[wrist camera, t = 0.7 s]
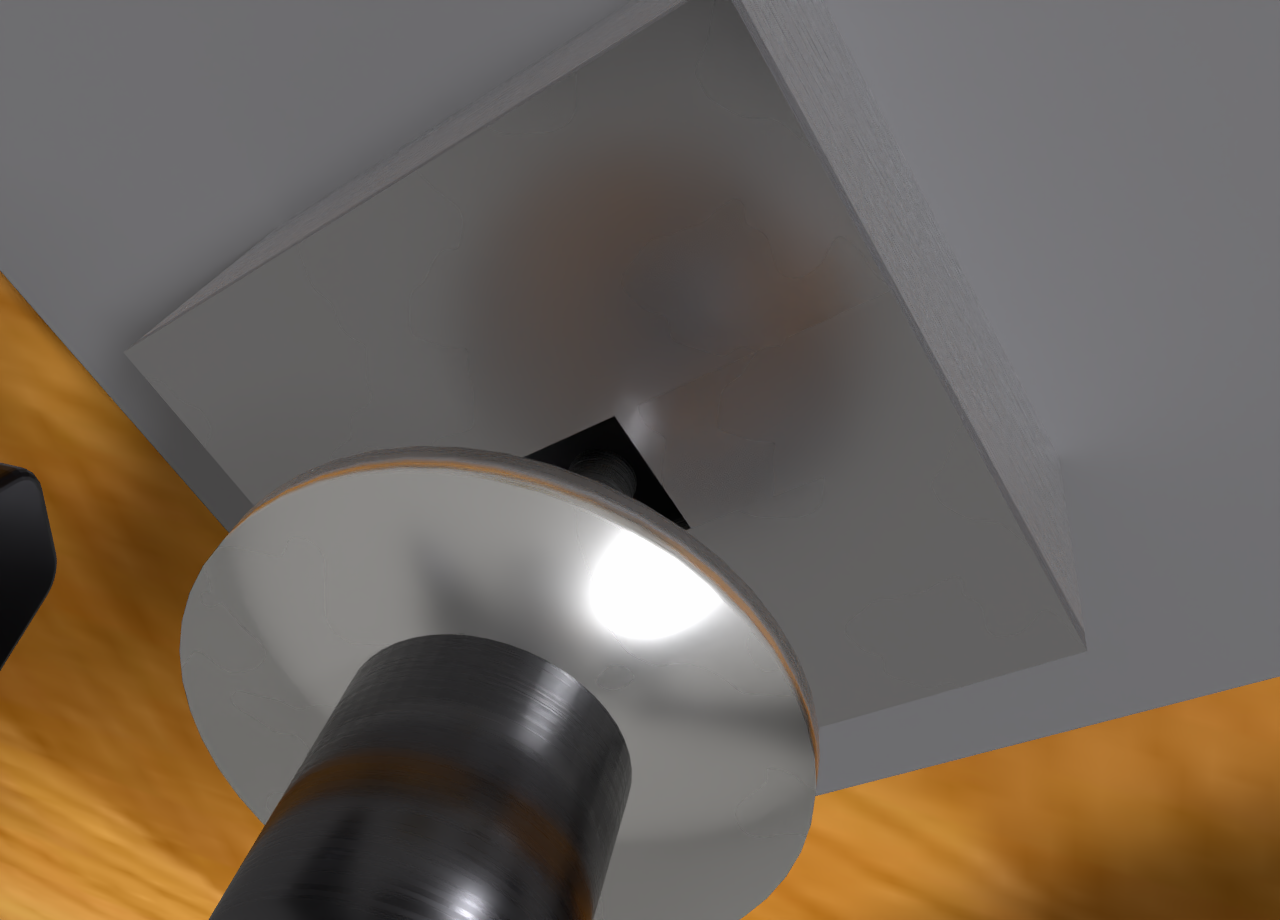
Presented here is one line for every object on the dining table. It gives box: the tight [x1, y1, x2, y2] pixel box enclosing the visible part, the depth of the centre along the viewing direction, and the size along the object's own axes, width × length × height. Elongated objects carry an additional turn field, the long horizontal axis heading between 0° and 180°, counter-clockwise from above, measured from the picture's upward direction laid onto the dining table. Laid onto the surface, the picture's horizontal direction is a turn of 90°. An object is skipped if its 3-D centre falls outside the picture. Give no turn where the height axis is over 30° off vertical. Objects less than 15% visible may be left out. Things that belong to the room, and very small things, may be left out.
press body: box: [123, 0, 1087, 728], centre depth 19 cm, size 10×10×5 cm
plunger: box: [180, 446, 820, 920], centre depth 14 cm, size 7×7×8 cm
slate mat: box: [0, 0, 1280, 796], centre depth 21 cm, size 22×22×1 cm
